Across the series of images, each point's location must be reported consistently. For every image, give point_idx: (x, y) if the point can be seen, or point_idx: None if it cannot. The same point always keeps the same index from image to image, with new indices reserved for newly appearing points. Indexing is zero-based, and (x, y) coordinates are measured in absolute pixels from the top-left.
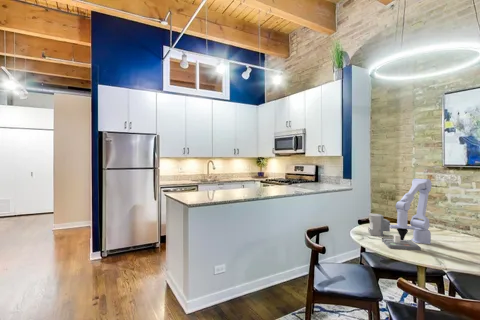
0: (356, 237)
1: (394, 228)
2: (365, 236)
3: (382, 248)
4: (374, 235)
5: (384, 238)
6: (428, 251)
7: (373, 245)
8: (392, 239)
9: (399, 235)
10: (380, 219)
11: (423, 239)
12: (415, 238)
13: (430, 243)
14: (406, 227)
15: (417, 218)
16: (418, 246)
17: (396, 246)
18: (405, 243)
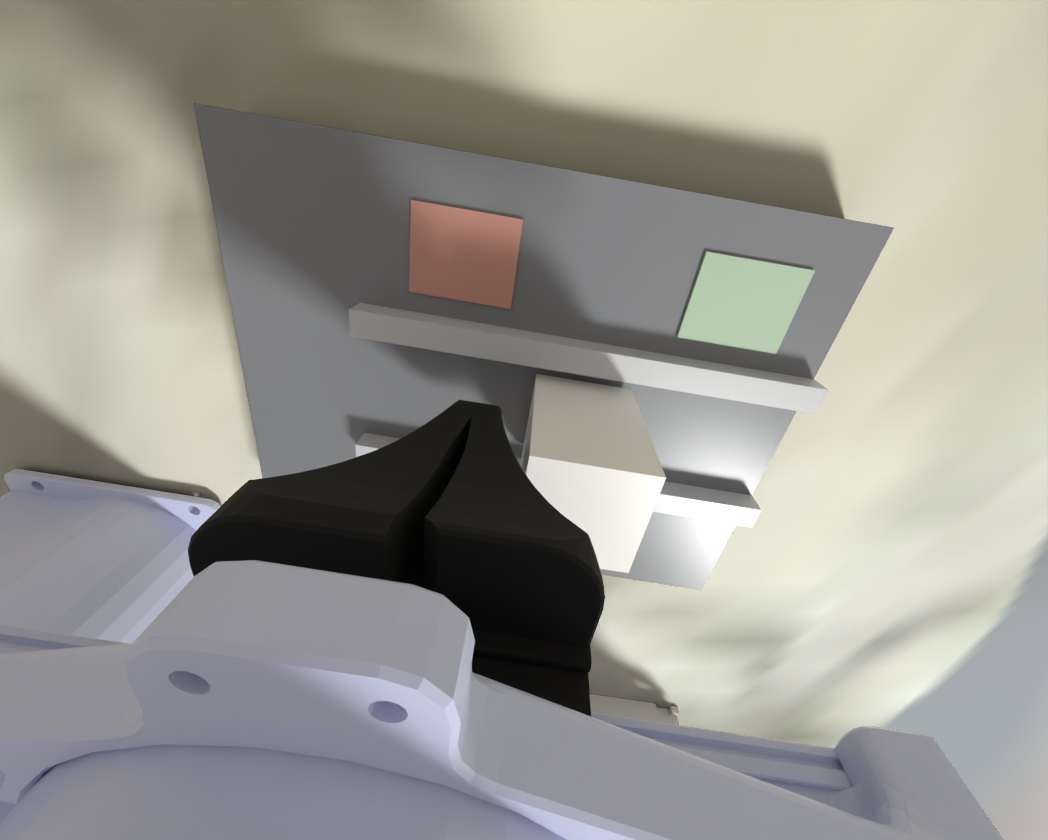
0: (952, 661)
1: (731, 734)
2: (782, 685)
3: (1033, 184)
4: (641, 704)
5: (667, 582)
6: (96, 66)
7: (1045, 361)
8: None
9: (536, 487)
10: None
11: (58, 531)
12: (175, 574)
13: (14, 473)
14: (111, 715)
15: None
16: (229, 174)
17: (728, 198)
18: (455, 323)
